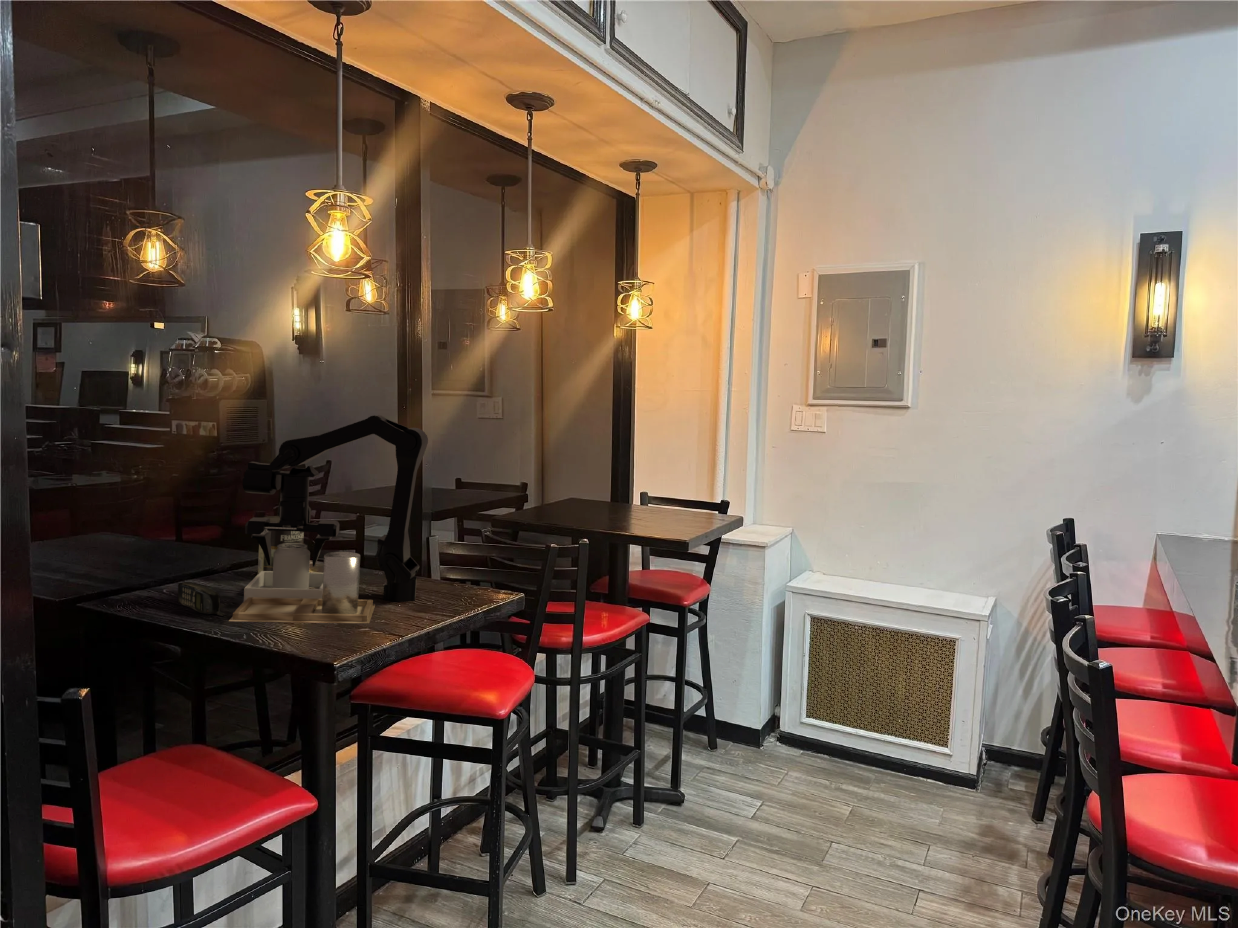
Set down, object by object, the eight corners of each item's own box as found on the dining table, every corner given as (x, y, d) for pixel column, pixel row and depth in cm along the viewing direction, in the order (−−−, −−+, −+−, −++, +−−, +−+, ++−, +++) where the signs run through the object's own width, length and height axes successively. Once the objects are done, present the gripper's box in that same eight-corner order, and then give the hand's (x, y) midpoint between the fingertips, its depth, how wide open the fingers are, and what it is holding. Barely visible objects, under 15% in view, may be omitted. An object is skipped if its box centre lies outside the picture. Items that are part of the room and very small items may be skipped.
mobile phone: (175, 581, 169) (213, 594, 161) (189, 579, 172) (228, 591, 163) (174, 604, 169) (213, 618, 161) (189, 602, 172) (227, 615, 163)
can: (295, 604, 175) (297, 549, 174) (264, 599, 176) (266, 545, 175) (314, 596, 182) (317, 543, 181) (285, 592, 184) (287, 540, 183)
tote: (332, 589, 189) (332, 572, 188) (321, 608, 173) (322, 589, 173) (260, 588, 185) (261, 570, 185) (243, 606, 170) (244, 588, 170)
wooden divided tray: (375, 610, 175) (375, 598, 174) (368, 630, 161) (369, 617, 161) (246, 608, 169) (246, 595, 169) (228, 628, 156) (228, 614, 155)
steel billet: (359, 608, 170) (362, 552, 169) (355, 617, 164) (358, 559, 162) (324, 607, 169) (327, 551, 168) (318, 617, 162) (321, 558, 161)
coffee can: (311, 576, 200) (314, 520, 198) (275, 583, 191) (277, 524, 189) (284, 568, 205) (286, 514, 203) (247, 575, 196) (249, 517, 194)
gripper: (343, 492, 187) (340, 558, 189) (257, 488, 183) (255, 556, 185) (337, 499, 176) (334, 569, 178) (245, 495, 172) (243, 567, 174)
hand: (291, 565), depth 179 cm, fingers open, 9 cm apart
